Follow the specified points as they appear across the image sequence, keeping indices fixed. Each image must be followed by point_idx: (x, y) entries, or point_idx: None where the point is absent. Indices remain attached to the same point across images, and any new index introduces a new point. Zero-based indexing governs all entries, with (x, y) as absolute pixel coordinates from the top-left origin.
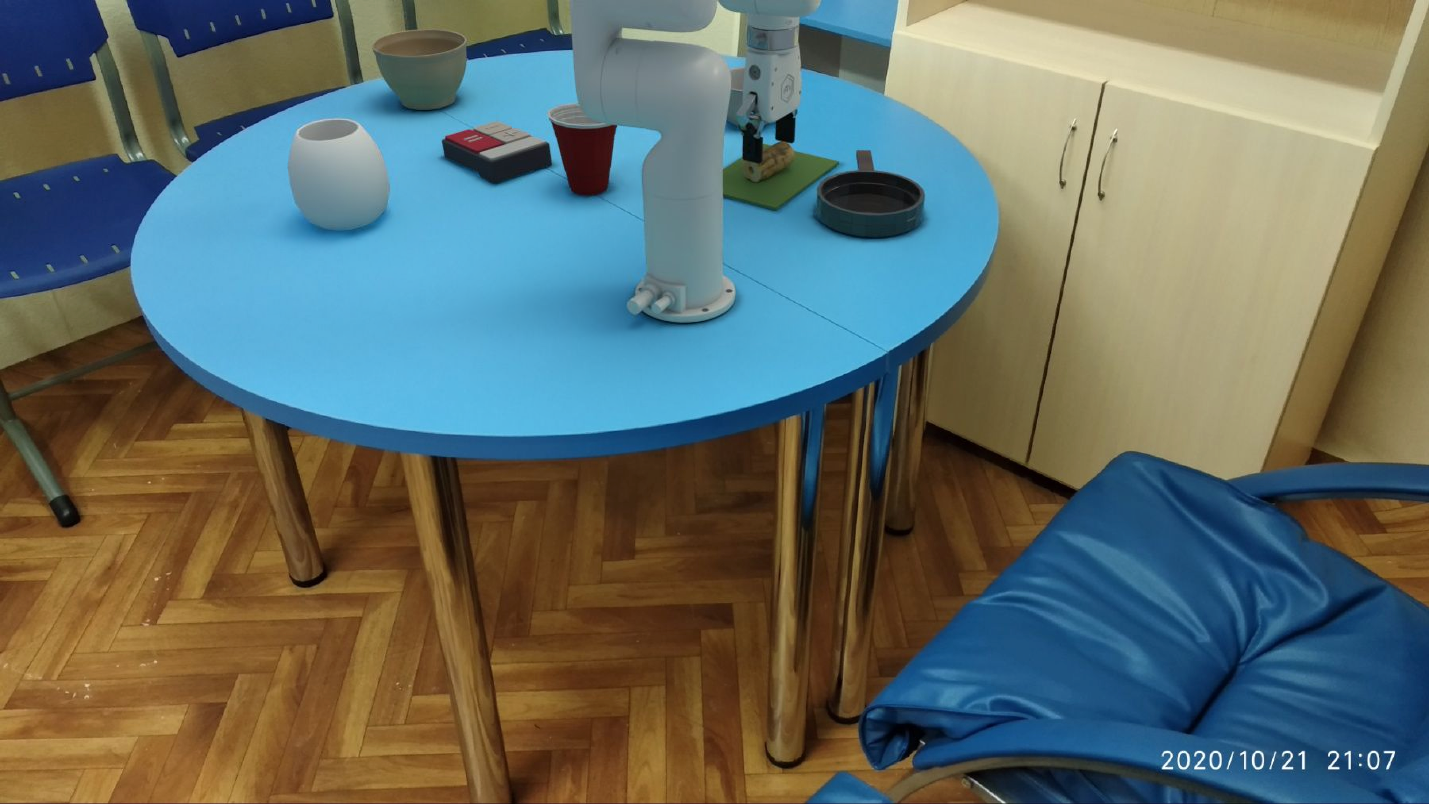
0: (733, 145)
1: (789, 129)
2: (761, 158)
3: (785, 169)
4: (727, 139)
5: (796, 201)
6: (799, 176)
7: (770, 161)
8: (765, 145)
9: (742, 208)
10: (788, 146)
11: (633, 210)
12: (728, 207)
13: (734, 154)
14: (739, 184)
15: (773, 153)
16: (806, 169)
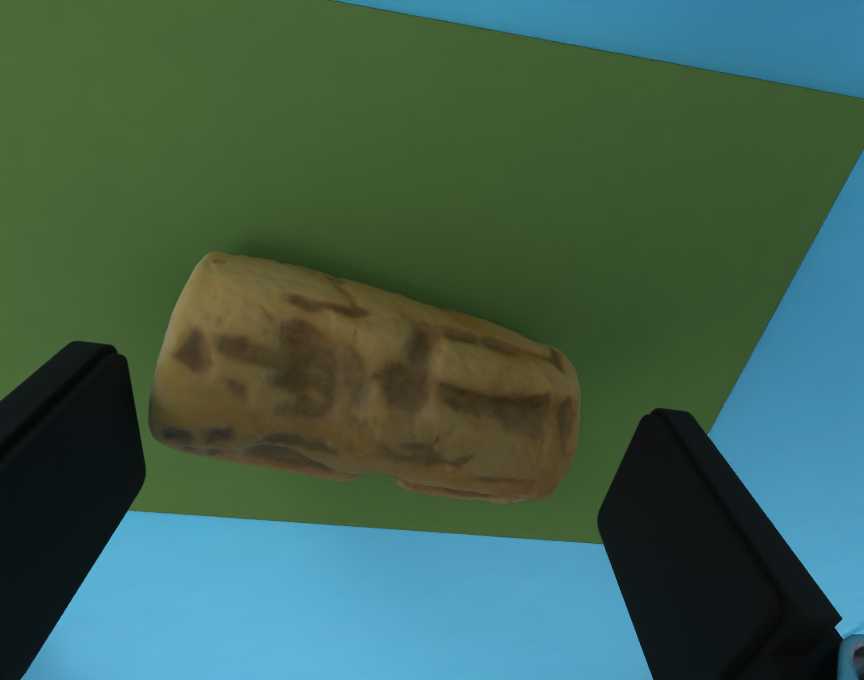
0: (121, 582)
1: (45, 463)
2: (693, 431)
3: None
4: (83, 617)
5: (692, 12)
6: (319, 143)
7: (477, 370)
8: None
9: (828, 302)
10: (194, 348)
11: (853, 614)
12: (817, 365)
13: (209, 549)
14: None
15: (386, 399)
16: (175, 139)
